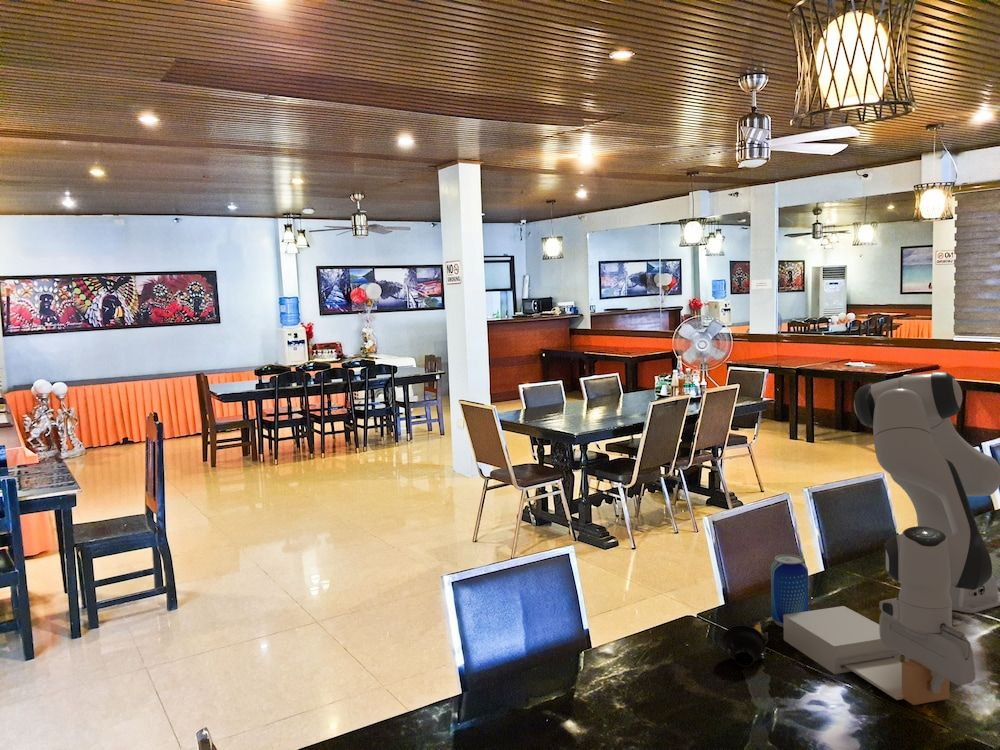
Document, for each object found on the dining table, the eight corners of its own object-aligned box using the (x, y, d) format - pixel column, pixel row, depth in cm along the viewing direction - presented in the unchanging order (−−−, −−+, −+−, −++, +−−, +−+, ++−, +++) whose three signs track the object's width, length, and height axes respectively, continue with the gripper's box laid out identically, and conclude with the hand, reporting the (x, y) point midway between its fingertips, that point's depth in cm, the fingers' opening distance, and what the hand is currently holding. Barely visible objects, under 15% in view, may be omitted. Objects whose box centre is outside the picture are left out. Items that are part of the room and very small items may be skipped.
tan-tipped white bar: (873, 649, 169) (873, 618, 169) (956, 697, 147) (956, 661, 147) (829, 656, 167) (828, 624, 166) (906, 706, 145) (906, 670, 144)
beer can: (803, 616, 192) (802, 553, 191) (813, 630, 184) (812, 564, 182) (768, 616, 193) (766, 553, 192) (776, 630, 184) (775, 564, 183)
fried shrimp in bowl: (715, 649, 165) (715, 594, 181) (737, 687, 168) (735, 630, 184) (757, 638, 161) (753, 583, 177) (779, 678, 164) (773, 620, 180)
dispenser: (844, 630, 182) (843, 605, 182) (903, 665, 164) (903, 637, 164) (783, 640, 179) (783, 614, 178) (837, 676, 160) (837, 648, 160)
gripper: (984, 634, 137) (984, 709, 138) (900, 595, 157) (900, 661, 158) (954, 639, 136) (954, 715, 137) (873, 599, 155) (873, 665, 156)
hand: (924, 686), depth 147 cm, fingers closed on tan-tipped white bar, 3 cm apart
